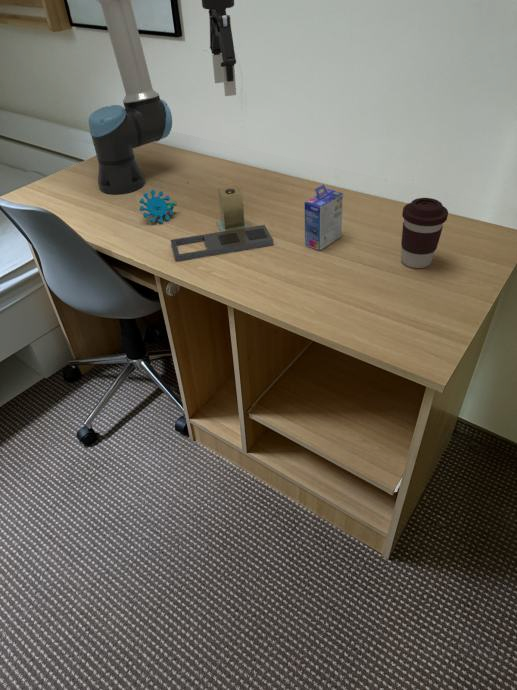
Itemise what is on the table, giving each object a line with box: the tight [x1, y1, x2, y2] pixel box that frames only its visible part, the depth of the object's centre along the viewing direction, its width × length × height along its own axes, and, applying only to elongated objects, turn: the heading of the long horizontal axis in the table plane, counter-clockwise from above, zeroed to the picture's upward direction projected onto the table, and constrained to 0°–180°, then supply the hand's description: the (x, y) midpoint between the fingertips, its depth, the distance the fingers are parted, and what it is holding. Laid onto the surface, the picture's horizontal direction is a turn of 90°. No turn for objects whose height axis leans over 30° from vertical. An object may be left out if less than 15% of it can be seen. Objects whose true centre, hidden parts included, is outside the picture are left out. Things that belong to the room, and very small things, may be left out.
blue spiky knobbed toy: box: [139, 189, 178, 224], centre depth 145 cm, size 11×6×10 cm
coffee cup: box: [400, 197, 449, 269], centre depth 117 cm, size 10×10×15 cm
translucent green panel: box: [216, 218, 249, 232], centre depth 139 cm, size 8×8×1 cm
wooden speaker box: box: [217, 185, 245, 231], centre depth 136 cm, size 6×6×10 cm
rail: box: [170, 224, 274, 262], centre depth 131 cm, size 9×26×2 cm, turn 104°
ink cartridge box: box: [304, 184, 344, 251], centre depth 126 cm, size 10×6×14 cm, turn 138°
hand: (225, 88), depth 127 cm, fingers open, 13 cm apart
